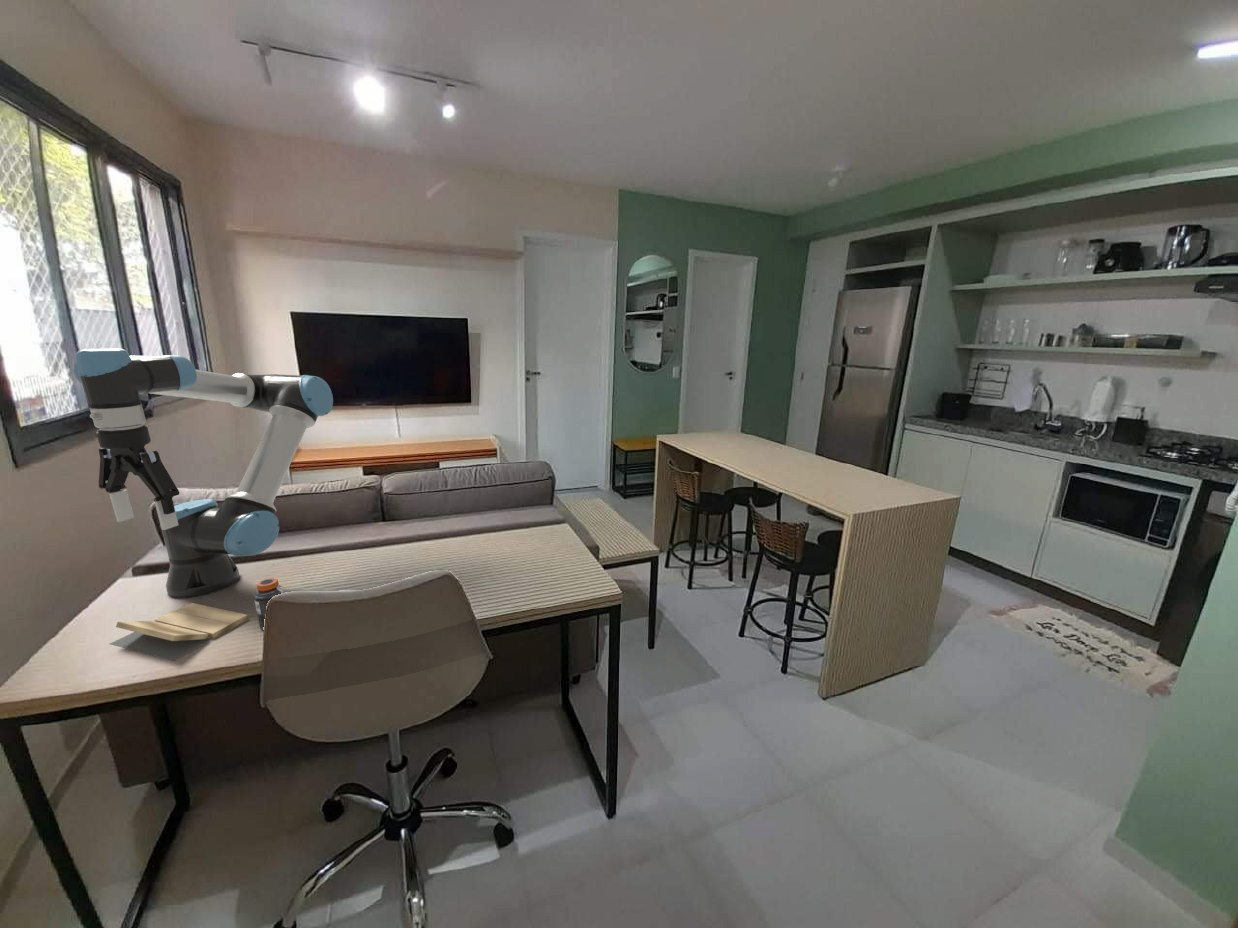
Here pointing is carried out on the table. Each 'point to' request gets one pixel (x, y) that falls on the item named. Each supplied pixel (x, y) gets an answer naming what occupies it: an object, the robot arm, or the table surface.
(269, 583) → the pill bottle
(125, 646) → the underlay mat
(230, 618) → the floor board
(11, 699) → the table surface
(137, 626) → the board
